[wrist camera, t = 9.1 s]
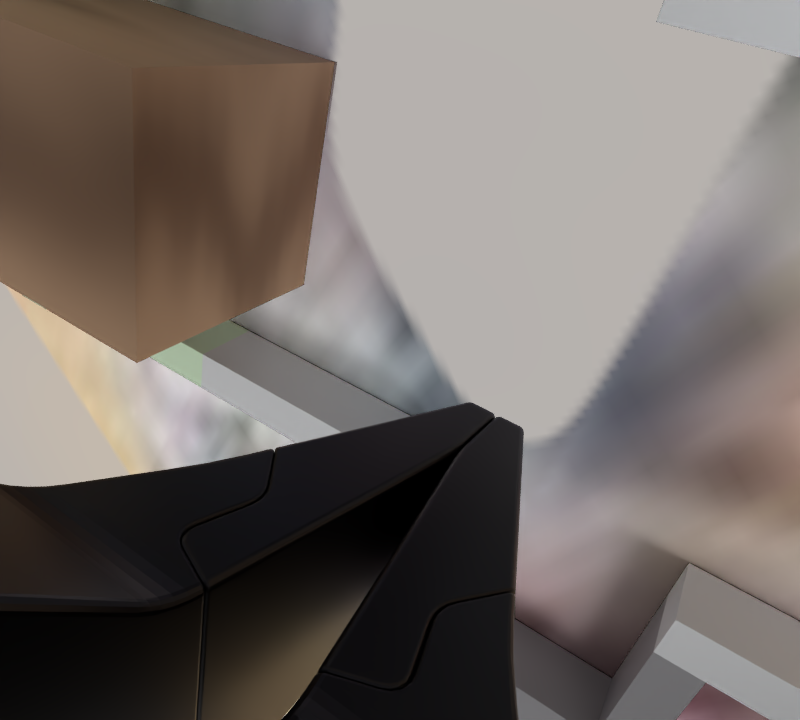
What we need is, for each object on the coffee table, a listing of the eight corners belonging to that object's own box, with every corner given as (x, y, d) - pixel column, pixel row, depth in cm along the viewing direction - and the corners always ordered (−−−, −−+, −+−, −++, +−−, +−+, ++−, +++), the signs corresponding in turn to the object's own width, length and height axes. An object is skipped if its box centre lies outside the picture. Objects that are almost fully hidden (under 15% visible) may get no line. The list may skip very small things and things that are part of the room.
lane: (933, 739, 14) (948, 824, 13) (246, 362, 21) (201, 387, 19) (1672, 146, 7) (1909, 172, 6) (292, -137, 14) (227, -160, 12)
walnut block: (305, 283, 19) (136, 362, 14) (134, 201, 21) (-60, 246, 16) (337, 62, 15) (132, 68, 11) (131, -6, 18) (-112, -25, 13)
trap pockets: (635, 726, 19) (619, 788, 17) (252, 484, 23) (212, 515, 22) (1573, -516, 6) (1825, -701, 5) (361, -486, 11) (288, -575, 10)
